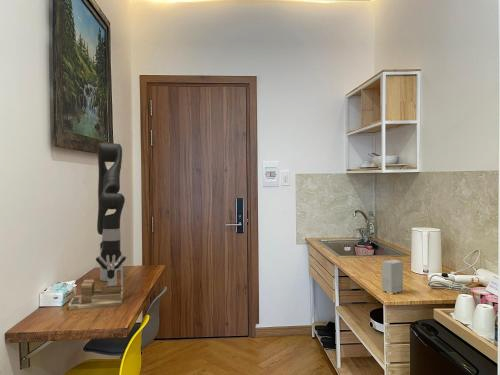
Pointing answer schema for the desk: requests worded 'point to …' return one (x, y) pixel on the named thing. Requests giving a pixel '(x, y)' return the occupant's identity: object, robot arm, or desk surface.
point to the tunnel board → (93, 298)
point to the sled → (113, 286)
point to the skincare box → (114, 280)
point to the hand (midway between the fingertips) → (110, 278)
